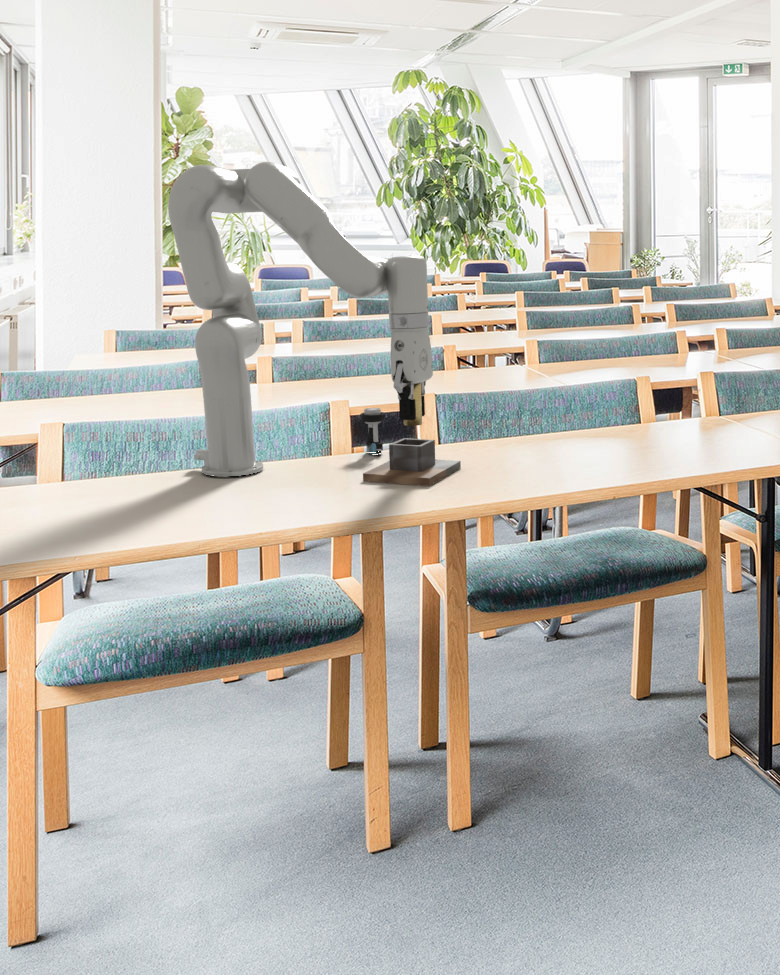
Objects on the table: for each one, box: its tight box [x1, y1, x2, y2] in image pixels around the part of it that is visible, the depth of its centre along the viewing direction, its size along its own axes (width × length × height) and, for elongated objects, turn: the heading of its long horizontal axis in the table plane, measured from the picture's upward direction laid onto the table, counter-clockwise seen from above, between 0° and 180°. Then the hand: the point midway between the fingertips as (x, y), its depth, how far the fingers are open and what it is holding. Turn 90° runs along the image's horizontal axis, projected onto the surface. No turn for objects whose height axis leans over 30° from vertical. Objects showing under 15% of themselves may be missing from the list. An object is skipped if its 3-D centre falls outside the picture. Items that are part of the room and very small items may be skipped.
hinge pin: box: [403, 380, 423, 427], centre depth 181 cm, size 4×4×9 cm
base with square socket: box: [362, 437, 461, 487], centre depth 184 cm, size 14×16×6 cm
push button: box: [359, 407, 385, 456], centre depth 204 cm, size 7×5×10 cm
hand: (412, 416), depth 182 cm, fingers closed on hinge pin, 3 cm apart
